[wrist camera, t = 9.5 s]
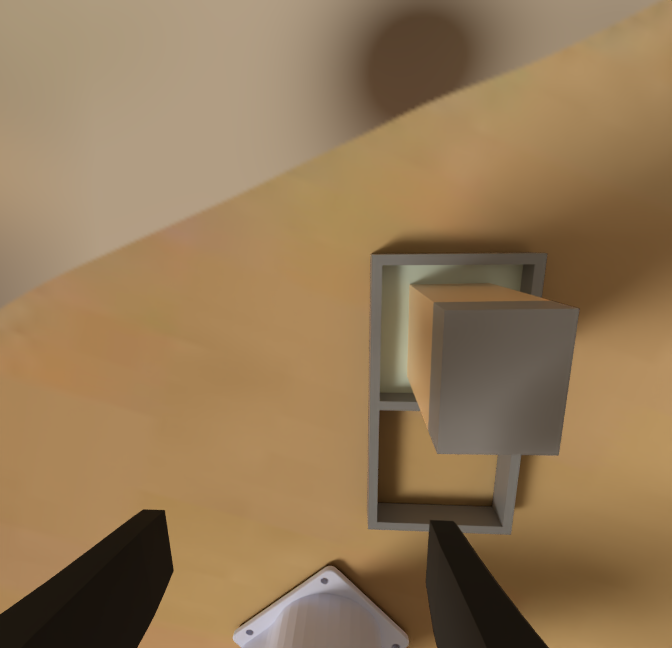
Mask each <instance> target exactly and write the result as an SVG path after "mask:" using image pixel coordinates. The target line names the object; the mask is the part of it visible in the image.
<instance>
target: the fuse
mask: <svg viewBox="0 0 672 648" xmlns="http://www.w3.org/2000/svg"><path fill="white" fill-rule="evenodd" d="M578 316H579V308H576V307H572V306H569V305H565V304H562V303H558V302H555V301H551V300H548V299H544V298H541V297H537V296H534V295H530V294H527V293H523V292H520V291H516V290H512V289H509V288H505V287H502V286H498V285H495V284H491V283H465V284H409V322H408V361H407V377H408V380H409V383H410V385H411V388H412V390H413V393H414V395H415V398H416V401H417V403H418V406H419V408H420V411H421V413H422V416H423V418H424V421H425V424H426V426H427V429H428V431H429V434H430V436H431V439H432V442H433V444H434V447H435V449H436V452H437V454H484V455H559V450H560V443H561V436H562V429H563V422H564V415H565V408H566V401H567V394H568V387H569V380H570V372H571V365H572V358H573V351H574V344H575V337H576V330H577V323H578Z"/></svg>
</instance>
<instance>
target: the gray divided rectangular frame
mask: <svg viewBox="0 0 672 648" xmlns="http://www.w3.org/2000/svg"><path fill="white" fill-rule="evenodd" d="M546 261H547V253H419V254H371V265H370V340H369V416H368V491H367V515H368V529H377V530H403V531H429V523H430V520H444V521H454V522H455V523H456V524H457V525H458V527H459V528H460V530H461V531H462V533H480V534H506V535H511V530H512V522H513V514H514V507H515V499H516V491H517V484H518V476H519V468H520V461H521V455H498V459H497V468H496V477H495V486H494V494H493V503H492V507H486V506H457V505H428V504H399V503H377V498H378V451H379V410H397V411H420V408H419V406H418V403H417V401H416V398H415V395H414V393H413V390H412V388H411V385H410V383H409V380H408V377H407V361H408V322H409V284H465V283H491V284H495V285H498V286H502V287H505V288H509V289H512V290H516V291H520V292H523V293H527V294H530V295H534V296H537V297H541V298H542V292H543V284H544V276H545V269H546Z"/></svg>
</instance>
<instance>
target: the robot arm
mask: <svg viewBox="0 0 672 648" xmlns="http://www.w3.org/2000/svg"><path fill="white" fill-rule="evenodd" d="M173 571H174V570H173V563H172V556H171V549H170V543H169V536H168V529H167V522H166V516H165V510H144V509H143V510H142V511H141V512H139V513H138V514H136V515H135V516H134V517H132V518H131V519H129V520H128V521H127V522H125V523H124V524H123V525H121V526H120V527H119V528H117V529H116V530H115V531H113V532H112V533H111V534H109V535H108V536H107V537H106V538H104V539H103V540H102V541H100V542H99V543H98V544H96V545H95V546H94V547H92V548H91V549H90V550H88V551H87V552H86V553H84V554H83V555H82V556H80V557H79V558H78V559H76V560H75V561H74V562H72V563H71V564H70V565H68V566H67V567H66V568H64V569H63V570H62V571H60V572H59V573H58V574H56V575H55V576H54V577H52V578H51V579H50V580H48V581H47V582H45V583H44V584H43V585H41V586H40V587H38V588H37V589H36V590H34V591H33V592H31V593H30V594H28V595H27V596H26V597H24V598H23V599H21V600H20V601H19V602H17V603H16V604H14V605H13V606H11V607H10V608H9V609H7V610H6V611H4V612H3V613H2V614H0V648H137V647H138V645H139V643H140V642H141V640H142V638H143V636H144V634H145V632H146V631H147V629H148V627H149V625H150V623H151V621H152V619H153V617H154V615H155V613H156V611H157V609H158V606H159V604H160V602H161V600H162V597H163V595H164V593H165V590H166V588H167V585H168V583H169V580H170V578H171V576H172V573H173ZM426 587H427V594H428V600H429V607H430V613H431V619H432V625H433V632H434V636H435V640H436V644H437V648H549V647H548V646H547V645H546V644H545V643H544V641H543V640H542V639H541V638H540V636H539V635H538V634H537V633H536V632H535V630H534V629H533V628H532V627H531V625H530V624H529V623H528V622H527V620H526V619H525V618H524V617H523V615H522V614H521V613H520V612H519V610H518V609H517V608H516V606H515V605H514V604H513V602H512V601H511V600H510V598H509V597H508V596H507V595H506V593H505V592H504V591H503V589H502V588H501V587H500V585H499V584H498V583H497V581H496V580H495V579H494V577H493V576H492V574H491V573H490V572H489V570H488V569H487V568H486V566H485V565H484V563H483V562H482V561H481V559H480V558H479V556H478V555H477V553H476V552H475V551H474V549H473V548H472V546H471V545H470V543H469V542H468V540H467V539H466V537H465V536H464V534H463V533H462V531H461V530H460V528H459V527H458V525H457V524H456V523H455V522H454V521H444V520H430V523H429V539H428V555H427V571H426ZM233 640H234V641H235V643H237V644H238V645H239V646H240V647H241V648H406V647H407V646H408V645H409V639H408V635H407V634H406V633H405V632H404V631H403V630H402V629H401V628H400V627H399V626H398V625H397V624H396V623H394V622H393V621H392V620H391V619H390V618H389V617H388V616H387V615H386V614H385V613H384V612H383V611H382V610H381V609H379V608H378V607H377V606H376V605H375V604H374V603H373V602H372V601H371V600H370V599H369V598H368V597H367V596H366V595H365V594H363V593H362V592H361V591H360V590H359V589H358V588H357V587H356V586H355V585H354V584H353V583H352V582H351V581H350V580H348V579H347V578H346V577H345V576H344V575H343V574H342V573H341V572H340V571H339V570H338V569H337V568H335V567H334V566H327V567H325V568H324V569H322V570H321V571H319V572H318V573H316V574H315V575H314V576H312V577H311V578H309V579H308V580H306V581H305V582H304V583H302V584H301V585H299V586H298V587H296V588H295V589H293V590H292V591H291V592H289V593H288V594H286V595H285V596H283V597H282V598H281V599H279V600H278V601H276V602H275V603H273V604H272V605H270V606H269V607H268V608H266V609H265V610H263V611H262V612H260V613H259V614H258V615H256V616H255V617H253V618H252V619H250V620H249V621H248V622H246V623H245V624H243V625H242V626H240V627H239V628H237V629H236V630H235V632H234V635H233Z"/></svg>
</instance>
